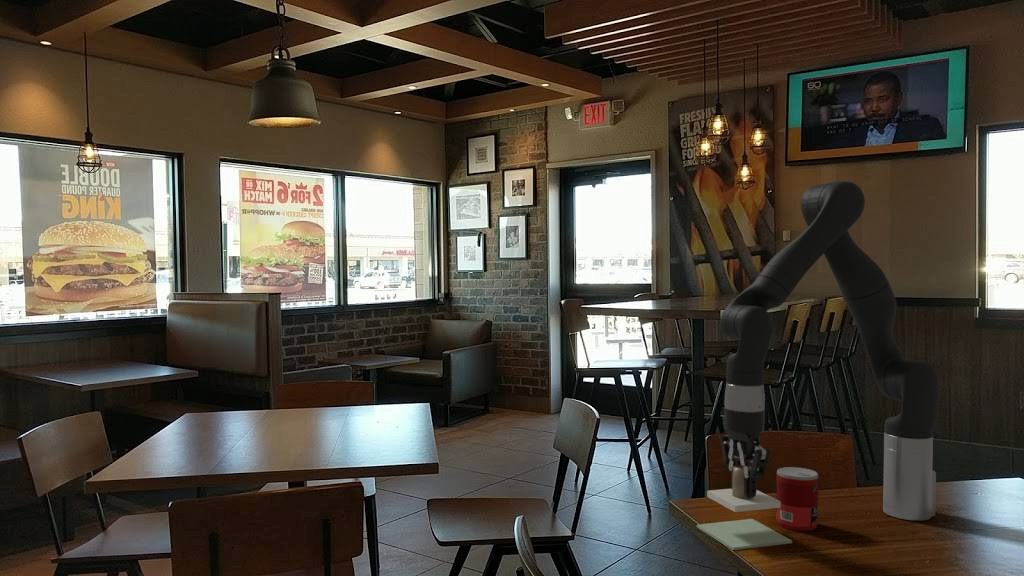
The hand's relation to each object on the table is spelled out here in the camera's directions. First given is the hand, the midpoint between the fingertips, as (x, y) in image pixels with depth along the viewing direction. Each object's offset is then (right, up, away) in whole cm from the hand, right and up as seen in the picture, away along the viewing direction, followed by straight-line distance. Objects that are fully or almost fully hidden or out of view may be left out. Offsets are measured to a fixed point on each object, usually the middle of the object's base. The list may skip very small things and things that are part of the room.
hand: (743, 492), depth 149 cm
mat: (0, -8, 0) cm, 8 cm away
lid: (0, -2, 0) cm, 2 cm away
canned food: (+13, -9, +6) cm, 17 cm away
